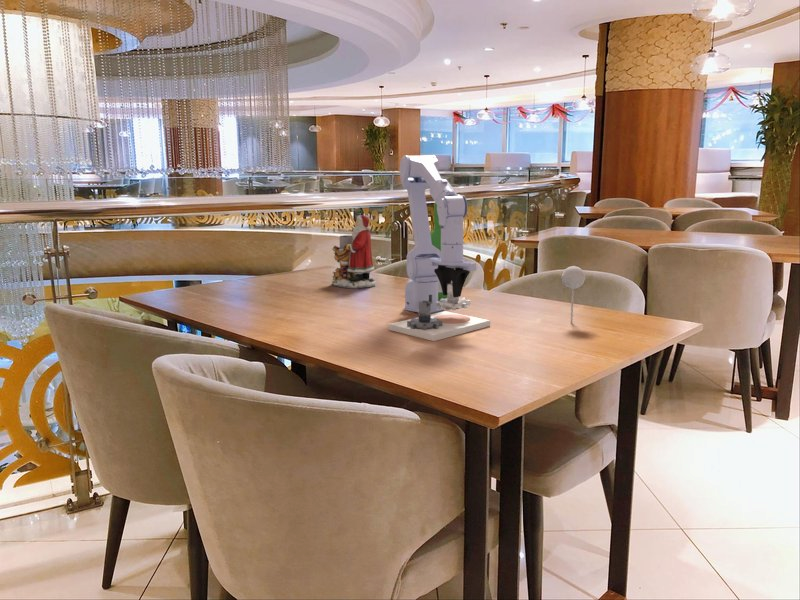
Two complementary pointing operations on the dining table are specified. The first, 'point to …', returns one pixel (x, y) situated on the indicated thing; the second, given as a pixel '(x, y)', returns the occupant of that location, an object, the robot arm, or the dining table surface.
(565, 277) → the lollipop
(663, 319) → the dining table surface
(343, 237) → the santa figurine
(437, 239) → the wine bottle
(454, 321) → the gear board
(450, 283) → the aluminium gear
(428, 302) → the crank gear
